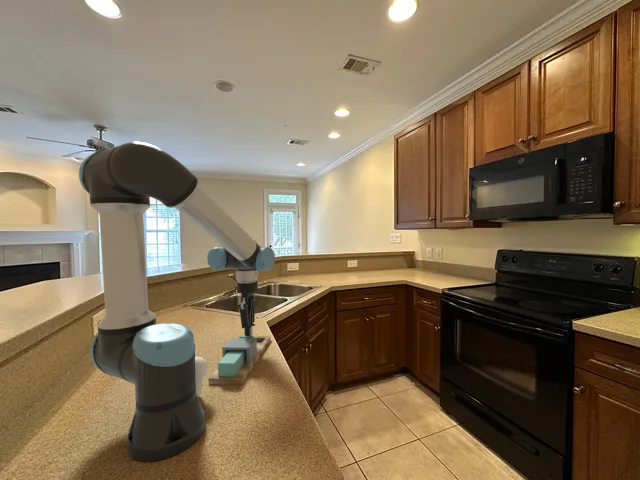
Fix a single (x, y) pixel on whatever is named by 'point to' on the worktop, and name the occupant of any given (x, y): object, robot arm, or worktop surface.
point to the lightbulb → (200, 373)
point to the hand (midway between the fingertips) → (248, 344)
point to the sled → (232, 361)
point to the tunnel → (242, 347)
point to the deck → (245, 369)
